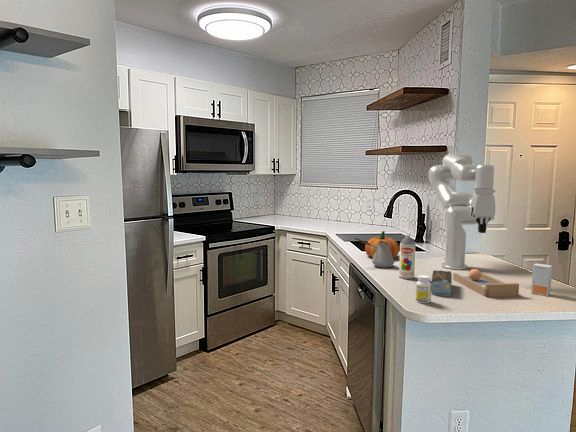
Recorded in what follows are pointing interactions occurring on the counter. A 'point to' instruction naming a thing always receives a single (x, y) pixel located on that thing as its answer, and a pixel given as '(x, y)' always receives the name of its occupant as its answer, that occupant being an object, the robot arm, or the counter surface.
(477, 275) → the ball
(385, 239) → the pumpkin
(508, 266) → the counter surface
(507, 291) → the lane
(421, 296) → the supplement bottle
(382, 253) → the coffee pot
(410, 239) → the aerosol can
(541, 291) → the skincare box
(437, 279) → the beverage carton
